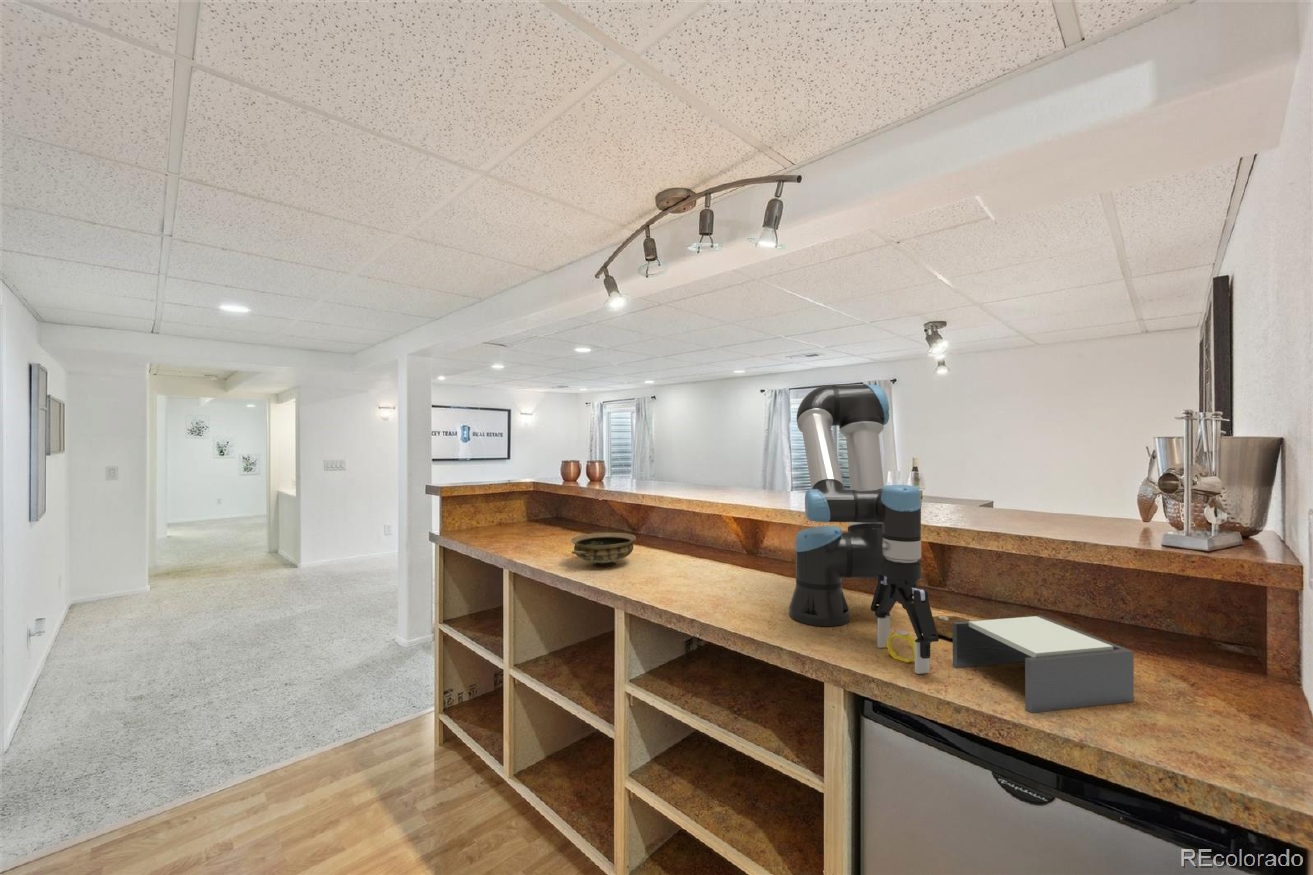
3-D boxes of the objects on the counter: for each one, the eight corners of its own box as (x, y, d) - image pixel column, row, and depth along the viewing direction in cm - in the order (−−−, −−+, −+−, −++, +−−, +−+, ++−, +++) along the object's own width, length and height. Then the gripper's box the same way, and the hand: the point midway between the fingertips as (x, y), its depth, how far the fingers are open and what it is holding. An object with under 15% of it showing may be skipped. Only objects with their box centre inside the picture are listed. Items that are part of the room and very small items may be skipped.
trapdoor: (968, 626, 110) (968, 621, 110) (1036, 621, 112) (1036, 616, 112) (1036, 658, 94) (1036, 653, 94) (1113, 651, 96) (1113, 646, 96)
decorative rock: (1001, 640, 125) (934, 625, 136) (1001, 622, 125) (933, 609, 137) (984, 651, 118) (915, 634, 129) (984, 632, 118) (914, 617, 129)
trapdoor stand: (952, 665, 111) (952, 622, 111) (1040, 657, 114) (1040, 615, 114) (1031, 712, 92) (1031, 660, 92) (1133, 701, 95) (1133, 651, 95)
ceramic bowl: (609, 553, 217) (608, 528, 217) (654, 561, 202) (654, 535, 202) (551, 568, 194) (550, 540, 194) (597, 579, 179) (597, 549, 179)
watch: (885, 659, 115) (883, 630, 115) (892, 655, 117) (890, 627, 117) (913, 666, 110) (911, 636, 111) (920, 662, 112) (917, 633, 112)
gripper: (854, 547, 125) (855, 638, 125) (923, 574, 101) (924, 687, 101) (883, 545, 126) (884, 636, 126) (959, 572, 102) (959, 684, 102)
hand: (902, 659), depth 114 cm, fingers open, 12 cm apart
